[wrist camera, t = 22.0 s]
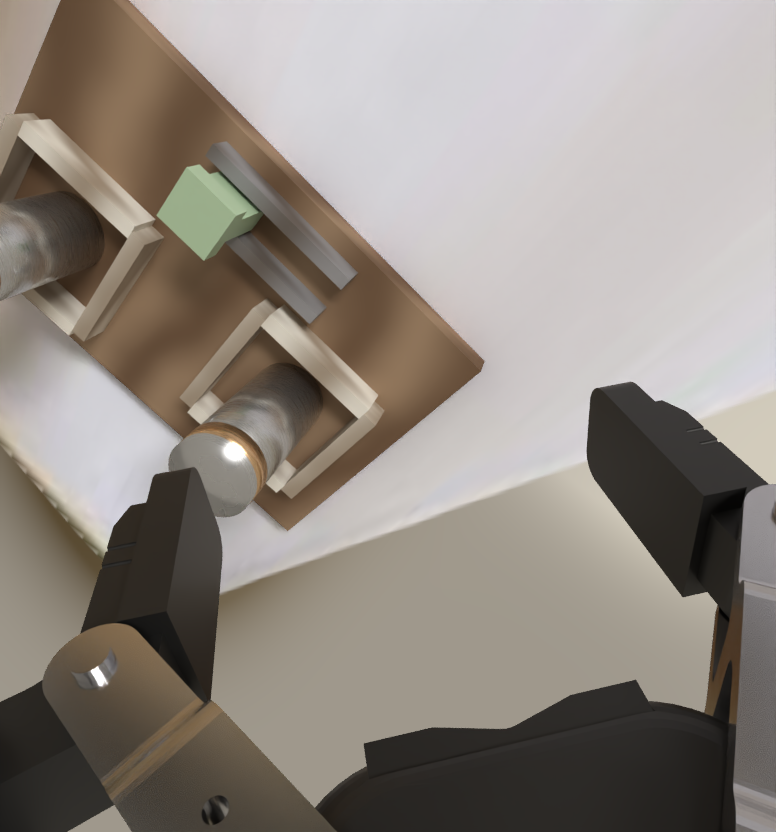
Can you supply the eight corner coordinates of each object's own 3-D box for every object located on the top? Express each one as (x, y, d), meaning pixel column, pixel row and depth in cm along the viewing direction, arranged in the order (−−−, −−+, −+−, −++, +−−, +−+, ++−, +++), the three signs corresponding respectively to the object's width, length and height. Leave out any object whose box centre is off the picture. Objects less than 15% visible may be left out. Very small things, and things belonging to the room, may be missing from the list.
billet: (242, 392, 41) (153, 471, 33) (282, 347, 39) (197, 421, 30) (294, 441, 42) (221, 531, 33) (337, 400, 39) (269, 486, 31)
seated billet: (27, 230, 40) (-122, 270, 31) (55, 173, 37) (-100, 200, 29) (86, 283, 41) (-45, 337, 32) (117, 231, 38) (-16, 274, 30)
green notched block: (204, 200, 35) (156, 215, 31) (233, 157, 34) (186, 167, 30) (245, 240, 36) (203, 260, 32) (276, 200, 34) (235, 215, 30)
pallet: (-20, 235, 43) (-65, 246, 40) (95, -33, 33) (47, -45, 30) (295, 518, 47) (276, 547, 44) (484, 361, 37) (475, 385, 34)
